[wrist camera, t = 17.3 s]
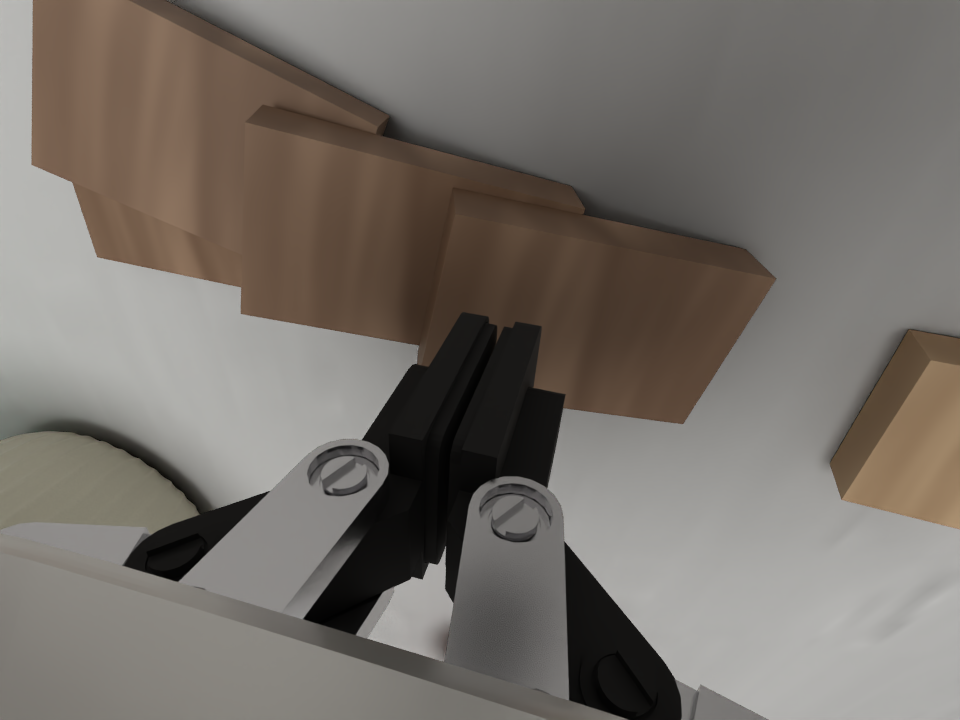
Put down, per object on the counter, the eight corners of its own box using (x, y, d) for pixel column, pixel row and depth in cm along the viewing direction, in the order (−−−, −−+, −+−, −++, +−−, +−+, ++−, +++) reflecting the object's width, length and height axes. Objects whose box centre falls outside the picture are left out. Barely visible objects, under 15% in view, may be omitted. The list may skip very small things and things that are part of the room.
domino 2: (282, 142, 15) (47, 105, 16) (299, 299, 18) (97, 257, 19) (310, 132, 16) (90, 98, 18) (323, 280, 19) (131, 241, 21)
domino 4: (775, 278, 13) (455, 214, 11) (682, 424, 16) (416, 388, 14) (745, 249, 14) (453, 187, 13) (664, 389, 17) (417, 352, 16)
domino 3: (585, 208, 13) (244, 122, 11) (521, 363, 16) (240, 313, 14) (571, 186, 15) (262, 104, 13) (514, 333, 17) (255, 284, 16)
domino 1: (377, 126, 13) (33, -49, 12) (320, 289, 16) (31, 164, 14) (389, 116, 15) (81, -43, 13) (335, 267, 17) (72, 151, 16)
